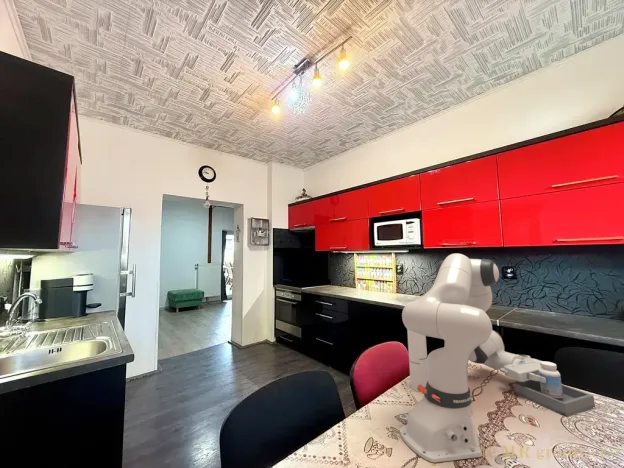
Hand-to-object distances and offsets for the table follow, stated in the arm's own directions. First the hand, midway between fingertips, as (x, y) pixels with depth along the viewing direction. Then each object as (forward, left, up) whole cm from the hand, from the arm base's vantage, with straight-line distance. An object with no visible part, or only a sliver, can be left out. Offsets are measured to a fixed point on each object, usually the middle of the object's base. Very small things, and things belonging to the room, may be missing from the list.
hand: (553, 379), depth 95 cm
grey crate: (0, +1, -8) cm, 8 cm away
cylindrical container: (-39, +26, -8) cm, 47 cm away
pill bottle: (0, +1, -6) cm, 6 cm away
